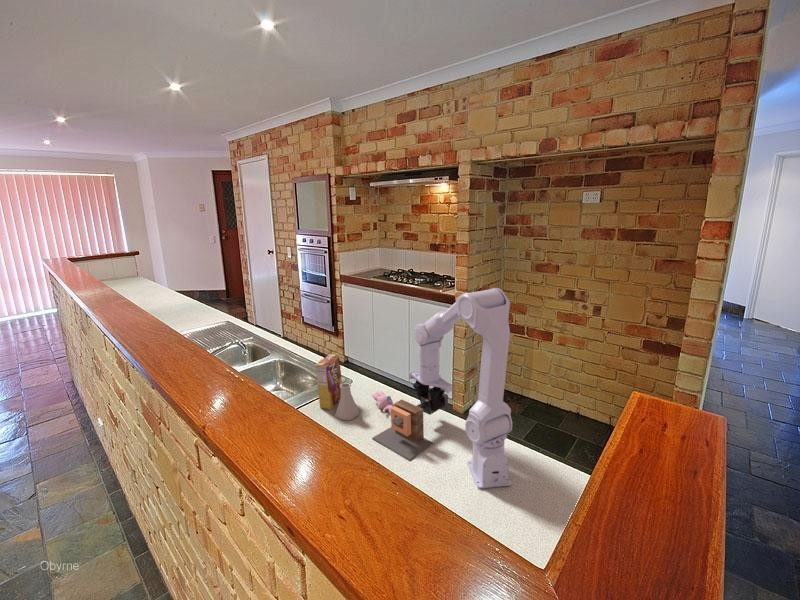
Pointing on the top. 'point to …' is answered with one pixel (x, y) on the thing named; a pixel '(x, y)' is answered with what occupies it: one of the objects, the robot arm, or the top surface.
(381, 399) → the pink toy animal
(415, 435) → the bracket
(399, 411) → the spacer
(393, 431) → the mat
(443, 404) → the shaft
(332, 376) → the candy box
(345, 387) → the flask
